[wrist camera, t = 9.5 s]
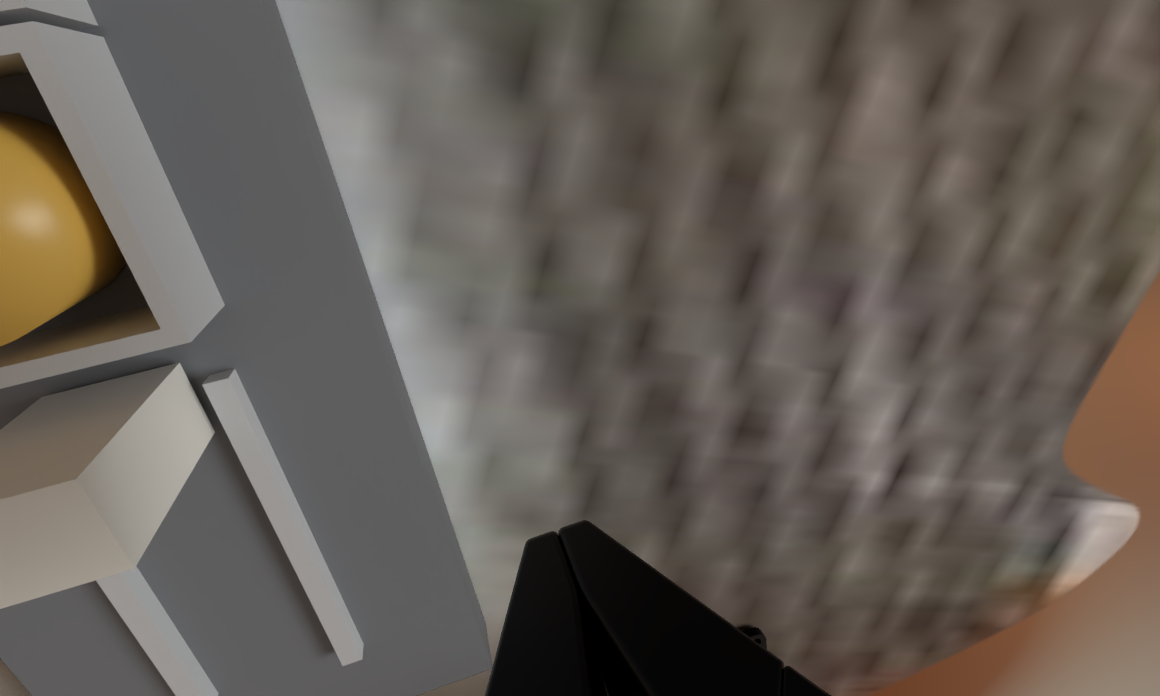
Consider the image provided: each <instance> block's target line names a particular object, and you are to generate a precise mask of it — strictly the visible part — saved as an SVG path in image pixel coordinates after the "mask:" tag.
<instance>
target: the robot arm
mask: <svg viewBox="0 0 1160 696" xmlns="http://www.w3.org/2000/svg"><path fill="white" fill-rule="evenodd" d="M558 535H559V536H558ZM603 681H604V682H603ZM604 684H605V685H604ZM605 687H606V689H605ZM606 690H607V692H606ZM607 693H608V695H609V696H831V695H829V694H828V693H826V692H825V691H824V690H822V689H821V688H819V687H818V686H816V685H815V684H814V683H812V682H811V681H810V680H808V679H807V678H806V677H804V676H803V675H801V674H800V673H799V672H797V671H796V670H795V669H793V668H792V667H790V666H786V667H785V668H784V663H783V662H782V660H780V659H779V658H777V657H776V656H775V655H773V654H772V653H771V652H769V651H768V650H767V647H766V638H765V636H764V634H763V633H762V631H761V630H760V629H759V628H756V627H754V628H750V629H747V630H745V631H742V632H741V631H740V630H739V629H737V628H736V627H735V626H733V625H732V624H730V623H729V622H728V621H726V620H725V619H723V618H722V617H721V616H719V615H718V614H717V613H715V612H714V611H712V610H711V609H710V608H708V607H707V606H705V605H704V604H703V603H701V602H700V601H699V600H697V599H696V598H694V597H693V596H692V595H690V594H689V593H688V592H686V591H685V590H683V589H682V588H681V587H679V586H678V585H676V584H675V583H674V582H672V581H671V580H670V579H668V578H667V577H665V576H664V575H663V574H661V573H660V572H658V571H657V570H656V569H654V568H653V567H652V566H650V565H649V564H647V563H646V562H645V561H643V560H642V559H640V558H639V557H638V556H636V555H635V554H634V553H632V552H631V551H629V550H628V549H627V548H625V547H624V546H622V545H621V544H620V543H618V542H617V541H616V540H614V539H613V538H611V537H610V536H609V535H607V534H606V533H604V532H603V531H602V530H600V529H599V528H598V527H596V526H595V525H593V524H592V523H591V522H589V521H586V520H583V521H580V522H577V523H574V524H571V525H568V526H565V527H562V528H561V529H560V530H559V532H558V534H557V533H556V532H554V531H551V532H548V533H545V534H542V535H539V536H536V537H533V538H531V539H529V540H528V541H527V542H526V544H525V547H524V551H523V555H522V558H521V562H520V566H519V570H518V573H517V577H516V581H515V585H514V588H513V592H512V596H511V600H510V603H509V607H508V611H507V615H506V618H505V622H504V626H503V630H502V633H501V637H500V641H499V645H498V648H497V652H496V656H495V660H494V663H493V667H492V671H491V675H490V678H489V682H488V686H487V690H486V693H485V696H607Z"/></svg>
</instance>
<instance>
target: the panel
mask: <svg viewBox="0 0 1160 696" xmlns="http://www.w3.org/2000/svg"><path fill="white" fill-rule="evenodd" d="M0 112H5V113H12V114H17V115H21V116H25V117H29V118H32V119H35V120H38V121H41V122H44V123H46V124H49V125H51V126H53V127H55V128H57V129H59V131H60V133H61V135H62V137H63V138H64V140H65V142H66V144H67V146H68V148H69V150H70V152H71V154H72V156H73V158H74V160H75V162H76V164H77V166H78V168H79V170H80V172H81V174H82V176H83V178H84V180H85V182H86V184H87V186H88V187H89V189H90V191H91V193H92V195H93V197H94V199H95V201H96V203H97V205H98V207H99V209H100V211H101V213H102V215H103V217H104V219H105V221H106V223H107V225H108V227H109V229H110V231H111V233H112V235H113V236H114V238H115V240H116V242H117V244H118V246H119V248H120V250H121V252H122V254H123V256H124V258H125V260H126V264H125V265H124V267H123V269H122V270H121V272H120V273H119V274H118V275H117V276H116V277H115V279H114V280H112V281H111V282H110V283H109V284H108V285H106V286H105V287H104V288H102V289H100V290H99V291H97V292H96V293H94V294H92V295H91V296H89V297H87V298H85V299H84V300H82V301H80V302H79V303H77V304H75V305H74V306H72V307H70V308H69V309H67V310H65V311H64V312H62V313H60V314H59V315H57V316H55V317H54V318H52V319H50V320H49V321H47V322H45V323H44V324H42V325H40V326H39V327H37V328H35V329H34V330H32V331H30V332H29V333H27V334H25V335H24V336H22V337H20V338H19V339H17V340H14V341H12V342H10V343H8V344H5V345H3V346H0V430H1V429H2V428H3V427H5V426H6V425H7V424H8V423H10V422H11V421H12V420H13V419H15V418H16V417H17V416H18V415H20V414H21V413H22V412H23V411H25V410H26V409H27V408H29V407H30V406H31V405H32V404H34V403H35V402H36V401H37V400H39V399H40V398H41V397H43V396H47V395H51V394H55V393H59V392H63V391H67V390H71V389H75V388H79V387H83V386H87V385H91V384H95V383H99V382H103V381H107V380H111V379H115V378H119V377H123V376H127V375H132V374H136V373H140V372H144V371H148V370H152V369H156V368H160V367H164V366H168V365H172V364H176V363H180V364H181V366H182V368H183V370H184V372H185V374H186V376H187V378H188V380H189V382H190V384H191V386H192V388H193V390H194V392H195V394H196V396H197V398H198V400H199V402H200V404H201V406H202V407H203V409H204V411H205V413H206V415H207V417H208V419H209V421H210V423H211V425H212V427H213V429H214V431H215V433H214V435H213V436H212V438H211V440H210V441H209V443H208V445H207V446H206V448H205V450H204V452H203V453H202V455H201V457H200V458H199V460H198V462H197V463H196V465H195V467H194V469H193V470H192V472H191V474H190V475H189V477H188V479H187V480H186V482H185V484H184V486H183V487H182V489H181V491H180V492H179V494H178V496H177V497H176V499H175V501H174V502H173V504H172V506H171V508H170V509H169V511H168V513H167V514H166V516H165V518H164V519H163V521H162V523H161V525H160V526H159V528H158V530H157V531H156V533H155V535H154V536H153V538H152V540H151V542H150V543H149V545H148V547H147V548H146V550H145V552H144V553H143V555H142V557H141V558H140V560H139V562H138V564H137V565H136V567H135V569H132V570H129V571H125V572H122V573H119V574H115V575H112V576H109V577H105V578H102V579H99V580H95V581H92V582H89V583H85V584H82V585H79V586H75V587H72V588H69V589H65V590H62V591H59V592H55V593H52V594H49V595H45V596H42V597H39V598H36V599H32V600H29V601H26V602H22V603H19V604H16V605H12V606H9V607H6V608H2V609H0V658H1V660H2V661H3V662H4V663H5V664H6V666H7V667H8V668H9V669H10V670H11V671H12V673H13V674H14V675H15V676H16V677H17V679H18V680H19V681H20V682H21V683H22V684H23V686H24V687H25V688H26V689H27V690H28V692H29V693H30V694H31V695H32V696H417V695H420V694H423V693H426V692H428V691H431V690H434V689H437V688H439V687H442V686H445V685H448V684H450V683H453V682H456V681H459V680H461V679H464V678H467V677H470V676H473V675H475V674H478V673H481V672H484V671H486V670H489V669H492V663H491V656H490V649H489V643H488V636H487V630H486V623H485V621H484V618H483V615H482V612H481V609H480V606H479V603H478V600H477V597H476V594H475V591H474V588H473V585H472V582H471V579H470V576H469V573H468V570H467V567H466V564H465V561H464V558H463V555H462V552H461V550H460V547H459V544H458V541H457V538H456V535H455V532H454V529H453V526H452V523H451V520H450V517H449V514H448V511H447V508H446V505H445V502H444V499H443V496H442V493H441V490H440V487H439V484H438V481H437V478H436V476H435V473H434V470H433V467H432V464H431V461H430V458H429V455H428V452H427V449H426V446H425V443H424V440H423V437H422V434H421V431H420V428H419V425H418V422H417V419H416V416H415V413H414V410H413V407H412V405H411V402H410V399H409V396H408V393H407V390H406V387H405V384H404V381H403V378H402V375H401V372H400V369H399V366H398V363H397V360H396V357H395V354H394V351H393V348H392V345H391V342H390V339H389V336H388V333H387V331H386V328H385V325H384V322H383V319H382V316H381V313H380V310H379V307H378V304H377V301H376V298H375V295H374V292H373V289H372V286H371V283H370V280H369V277H368V274H367V271H366V268H365V265H364V262H363V260H362V257H361V254H360V251H359V248H358V245H357V242H356V239H355V236H354V233H353V230H352V227H351V224H350V221H349V218H348V215H347V212H346V209H345V206H344V203H343V200H342V197H341V194H340V191H339V188H338V186H337V183H336V180H335V177H334V174H333V171H332V168H331V165H330V162H329V159H328V156H327V153H326V150H325V147H324V144H323V141H322V138H321V135H320V132H319V129H318V126H317V123H316V120H315V117H314V115H313V112H312V109H311V106H310V103H309V100H308V97H307V94H306V91H305V88H304V85H303V82H302V79H301V76H300V73H299V70H298V67H297V64H296V61H295V58H294V55H293V52H292V49H291V46H290V43H289V41H288V38H287V35H286V32H285V29H284V26H283V23H282V20H281V17H280V14H279V11H278V8H277V5H276V2H275V0H0Z"/></svg>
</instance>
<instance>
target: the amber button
mask: <svg viewBox="0 0 1160 696" xmlns="http://www.w3.org/2000/svg"><path fill="white" fill-rule="evenodd" d="M125 264H126V260H125V258H124V256H123V254H122V252H121V250H120V248H119V246H118V244H117V242H116V240H115V238H114V236H113V235H112V233H111V231H110V229H109V227H108V225H107V223H106V221H105V219H104V217H103V215H102V213H101V211H100V209H99V207H98V205H97V203H96V201H95V199H94V197H93V195H92V193H91V191H90V189H89V187H88V186H87V184H86V182H85V180H84V178H83V176H82V174H81V172H80V170H79V168H78V166H77V164H76V162H75V160H74V158H73V156H72V154H71V152H70V150H69V148H68V146H67V144H66V142H65V140H64V138H63V137H62V135H61V133H60V131H59V129H57V128H55V127H53V126H51V125H49V124H46V123H44V122H41V121H38V120H35V119H32V118H29V117H25V116H21V115H17V114H12V113H5V112H0V346H3V345H5V344H8V343H10V342H12V341H14V340H17V339H19V338H20V337H22V336H24V335H25V334H27V333H29V332H30V331H32V330H34V329H35V328H37V327H39V326H40V325H42V324H44V323H45V322H47V321H49V320H50V319H52V318H54V317H55V316H57V315H59V314H60V313H62V312H64V311H65V310H67V309H69V308H70V307H72V306H74V305H75V304H77V303H79V302H80V301H82V300H84V299H85V298H87V297H89V296H91V295H92V294H94V293H96V292H97V291H99V290H100V289H102V288H104V287H105V286H106V285H108V284H109V283H110V282H111V281H112V280H114V279H115V277H116V276H117V275H118V274H119V273H120V272H121V270H122V269H123V267H124V265H125Z"/></svg>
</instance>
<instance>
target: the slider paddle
mask: <svg viewBox="0 0 1160 696" xmlns="http://www.w3.org/2000/svg"><path fill="white" fill-rule="evenodd" d="M214 433H215V431H214V429H213V427H212V425H211V423H210V421H209V419H208V417H207V415H206V413H205V411H204V409H203V407H202V406H201V404H200V402H199V400H198V398H197V396H196V394H195V392H194V390H193V388H192V386H191V384H190V382H189V380H188V378H187V376H186V374H185V372H184V370H183V368H182V366H181V364H180V363H176V364H172V365H168V366H164V367H160V368H156V369H152V370H148V371H144V372H140V373H136V374H132V375H127V376H123V377H119V378H115V379H111V380H107V381H103V382H99V383H95V384H91V385H87V386H83V387H79V388H75V389H71V390H67V391H63V392H59V393H55V394H51V395H47V396H43V397H41V398H40V399H39V400H37V401H36V402H35V403H34V404H32V405H31V406H30V407H29V408H27V409H26V410H25V411H23V412H22V413H21V414H20V415H18V416H17V417H16V418H15V419H13V420H12V421H11V422H10V423H8V424H7V425H6V426H5V427H3V428H2V429H1V430H0V609H2V608H6V607H9V606H12V605H16V604H19V603H22V602H26V601H29V600H32V599H36V598H39V597H42V596H45V595H49V594H52V593H55V592H59V591H62V590H65V589H69V588H72V587H75V586H79V585H82V584H85V583H89V582H92V581H95V580H99V579H102V578H105V577H109V576H112V575H115V574H119V573H122V572H125V571H129V570H132V569H135V567H136V565H137V564H138V562H139V560H140V558H141V557H142V555H143V553H144V552H145V550H146V548H147V547H148V545H149V543H150V542H151V540H152V538H153V536H154V535H155V533H156V531H157V530H158V528H159V526H160V525H161V523H162V521H163V519H164V518H165V516H166V514H167V513H168V511H169V509H170V508H171V506H172V504H173V502H174V501H175V499H176V497H177V496H178V494H179V492H180V491H181V489H182V487H183V486H184V484H185V482H186V480H187V479H188V477H189V475H190V474H191V472H192V470H193V469H194V467H195V465H196V463H197V462H198V460H199V458H200V457H201V455H202V453H203V452H204V450H205V448H206V446H207V445H208V443H209V441H210V440H211V438H212V436H213V435H214Z"/></svg>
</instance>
